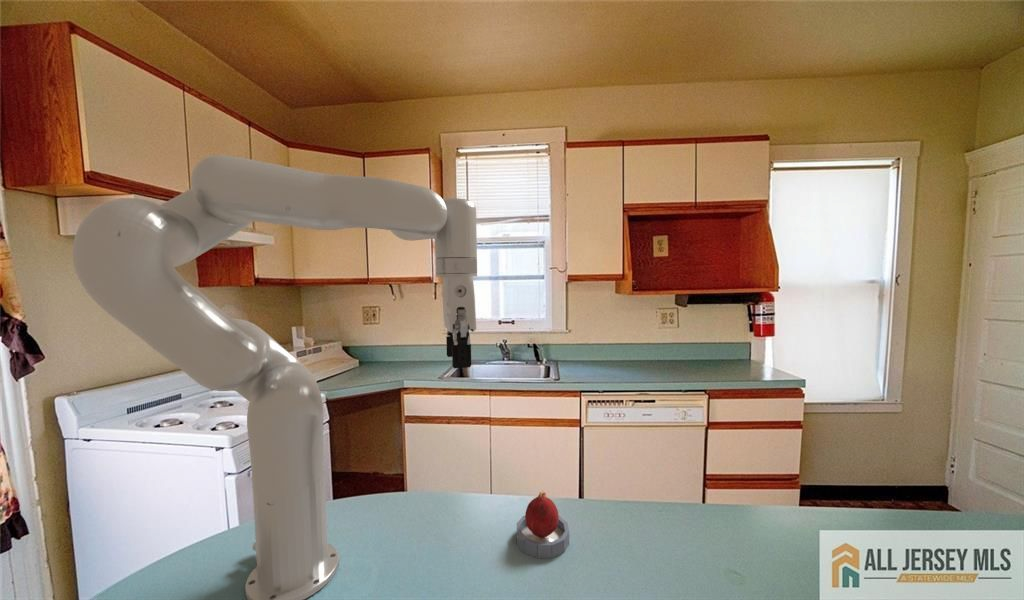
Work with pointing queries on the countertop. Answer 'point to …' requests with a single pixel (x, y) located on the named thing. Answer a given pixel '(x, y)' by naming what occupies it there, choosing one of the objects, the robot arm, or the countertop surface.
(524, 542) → the gray dish
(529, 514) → the onion
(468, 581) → the countertop surface
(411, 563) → the countertop surface
